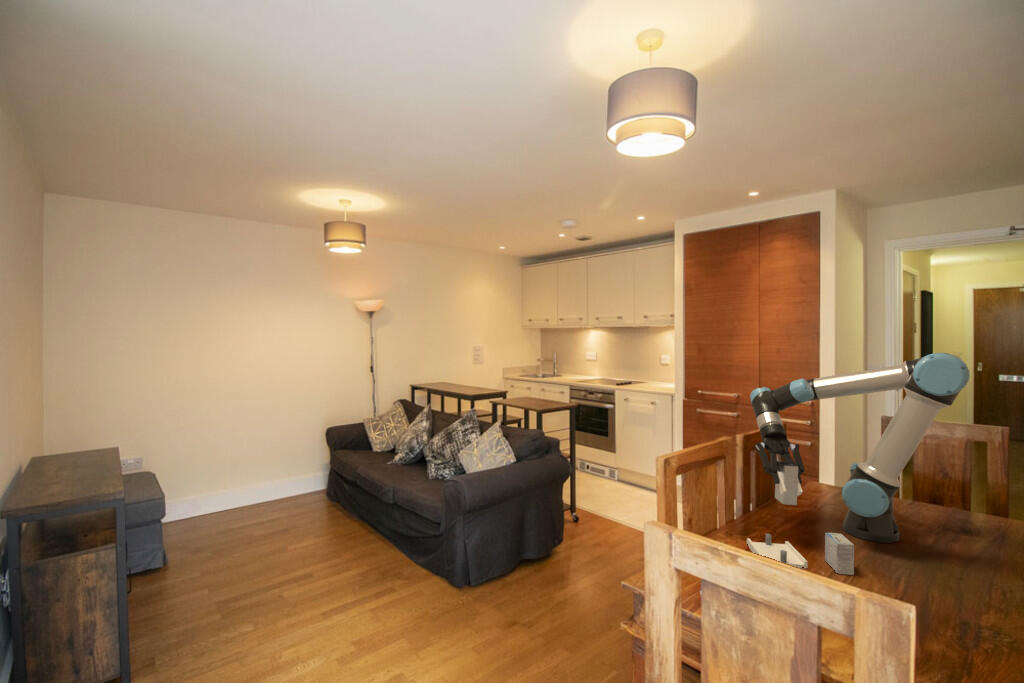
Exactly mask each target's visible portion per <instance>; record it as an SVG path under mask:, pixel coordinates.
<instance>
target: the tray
mask: <svg viewBox="0 0 1024 683" xmlns="http://www.w3.org/2000/svg"><path fill="white" fill-rule="evenodd" d="M747 544H748V546H749V547H748V546H747V547H748V548H749V549H750V551H751V552H752V554H753V553H756V554H759V555H762V556H766V557H769V558H772V559H775V560H777V561H780V562H783V563H786V564H789V565H792V566H794V567H797V568H796V569H806V568H807V570H808V566H809V565H808V563H809V562H808V560H806V558H805V557H803V555H802V554H801V553H800V552H799V551H798V550H797V549H796V548H795V547H794V546H793V545H792V544H791V542H789V540H787V541H786V540H785V541H784V543H774V542H773V543H772V534H770V533H765V542H760V541H759V542H757V541H752V540H751V538H748V537H747V538H746V545H747ZM802 567H804V568H802Z"/></svg>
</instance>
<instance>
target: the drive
mask: <svg viewBox="0 0 1024 683" xmlns="http://www.w3.org/2000/svg"><path fill="white" fill-rule="evenodd" d="M777 472H781V475H782V478H783V482H784V485H785V488H786V492H785V494H784V495H781V494H780V490H779V487H778V484H775V483H774V484H775V485H774V487H775V488H774V498H775V499H776V500H777V501H778V502H780V503H781V504H782V505H790V506H792V505H793V506H797V505H798V502H797V501H798V496H797V484H798V466H797V465H795V464H794V463H792V462H790V461H785V460H777Z"/></svg>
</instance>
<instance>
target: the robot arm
mask: <svg viewBox="0 0 1024 683" xmlns="http://www.w3.org/2000/svg"><path fill="white" fill-rule="evenodd" d="M969 379H970V370H969V368H968V365H967V364H966V363H965V362H964V360H962V359H961V358H960V357H958V356H956V355H954V354H951V353H947V352H933V353H931V354H927V355H925V356H923V357H918V358H916V359H915V358H914V359H911V360H905V361H903V363H901V364H900V365H899V364H898V365H892V366H886V367H885V366H884V367H879V368H873V369H866V370H860V371H854V372H848V373H842V374H835V375H830V376H828V375H827V376H822V377H816V378H810V379H805V378H799V379H795V380H793V381H791V382H788V383H786V384H784V385H781V386H780V387H777V388H774V389H771V388H768V387H766V386H764V387H763V386H762V387H757V388H754V389H753V390H752V391H751V393H750V395H749V398H750V401H751V402H750V404H751V405H750V406H751V407H752V410H753V413H754V417H755V419H756V423H757V426H758V429H759V433H760V437H761V440H762V442H757V443H756V445H755V446H754V448H755V450H756V452H758V455H759V458H760V461H761V465H762V468H763V469H764V473H765V474H768V473H769V474H770V476H771V477H772V478H773V479H772V480H773V482H774V484H778V487H779V490H780V494H781V495H784V494H785V492H786V488H785V485H784V482H783V478H782V475H781V472H777V461H778V459H777V458H778V456H777V455H780V456H781V458H783V461H790V462H792V463H794V464H795V465H797V466H798V484H797V497H800V496H801V495H802V494H803V492H804V491H803V489H802V486H801V485H802V483H803V480H802V478H801V475H803V473H804V472H805V466H804V463H803V458H802V456H801V453H800V445H799V444H798V443H797V444H793V443H791V442H790V441H789V439H788V436H787V433H786V430H785V426H784V423H783V421H782V418H781V415H780V412H781V411H784V410H786V409H790V408H791V407H795V406H798V405H801V404H802V403H806V402H811V401H812V402H813V401H818V400H824V399H825V400H826V399H833V398H839V397H841V398H842V397H848V396H857V395H864V394H873V393H879V392H880V393H881V392H882V393H883V392H888V391H889V392H890V391H895V390H896V391H897V390H904V392H905V396H904V398H903V400H902V402H901V403H900V405H899V406H898V408H897V409H896V411H895V413H894V415H893V416H892V417H891V420H890V421H889V424H887V426H886V428H885V429H884V431H883V433H882V435H881V436H880V438H879V440H878V442H877V443H876V445H875V446H874V448H873V450H872V451H871V453H870V455H869V456H868V458H867V459H866V461H864V462H855V463H854V462H853V463H851V465H850V469H849V471H850V477H849V478H848V480H847V482H845V483H844V485H843V486H842V489H841V496H842V500H843V502H844V504H845V505H846V507H847V508H848V510H847V512H846V514H845V517H844V519H843V523H842V529H843V530H844V531H845V533H847V534H849V535H851V536H853V537H857V538H860V539H862V540H865V541H870V542H876V543H885V544H887V543H888V544H890V543H891V544H892V543H897V542H899V541H900V530H899V527H898V525H897V522H896V520H895V517H894V496H895V495H896V493H897V492H898V490H899V489H900V488H901V485H902V484H901V482H900V480H899V477H900V475H901V473H902V472H903V470H904V469H905V467H906V465H907V464H908V462H910V459H911V458H912V456H913V455H914V452H915V451H916V450H917V448H918V446H919V445H920V443H921V442H922V440H923V439H924V437H925V435H926V433H927V432H928V430H929V428H930V427H931V426H932V425H933V422H935V419H936V417H937V416H938V415H939V413H940V412H941V410H942V409H946V408H950V407H951V406H952V404H954V402H955V400H956V399H957V397H958V396H959V394H960V392H961V391H962V390H963V389H964V388H965V387H966V386H967V384H968V383H969V381H970V380H969ZM789 448H790V451H789ZM766 450H767V451H768V454H767V452H766ZM790 452H792V455H791V453H790ZM768 455H769V458H768ZM769 460H770V461H769Z"/></svg>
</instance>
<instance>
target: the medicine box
mask: <svg viewBox="0 0 1024 683" xmlns="http://www.w3.org/2000/svg"><path fill="white" fill-rule="evenodd" d="M824 534H825V535H824V561H826V562H827V563H828V564H829V565H830V566H831V567H832V568H833V569H832V568H831V567H830V566H829V565H828V564H827V563H826V562H825V563H826V564H827V565H828V566H829V567H830V568H831V569H832V570H833V571H834V570H835V571H834V572H835V573H836V574H837V573H838V575H845V574H846V575H847V576H854V575H855V544H854V543H852V542H851V541H850V540H849V539H848V538H846V536H844V535H843V534H842V533H837V532H825V533H824Z"/></svg>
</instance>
